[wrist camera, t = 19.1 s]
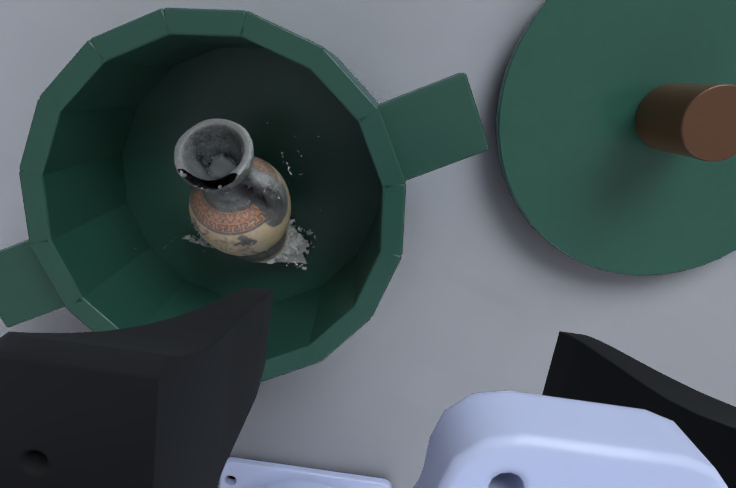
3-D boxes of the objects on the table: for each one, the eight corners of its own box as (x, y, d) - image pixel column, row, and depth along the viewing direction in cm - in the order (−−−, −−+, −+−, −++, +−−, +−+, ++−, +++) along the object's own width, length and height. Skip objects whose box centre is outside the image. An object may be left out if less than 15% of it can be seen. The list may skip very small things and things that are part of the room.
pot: (496, 237, 23) (537, 289, 17) (133, 365, 25) (62, 450, 19) (403, -50, 20) (416, -101, 14) (-2, 119, 22) (-135, 133, 16)
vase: (196, 98, 21) (129, 105, 15) (337, 127, 21) (324, 144, 15) (181, 233, 22) (115, 286, 17) (313, 258, 23) (293, 319, 17)
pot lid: (838, 206, 22) (943, 235, 18) (540, 306, 24) (576, 354, 20) (791, -123, 19) (907, -178, 15) (450, 14, 20) (469, -2, 16)
